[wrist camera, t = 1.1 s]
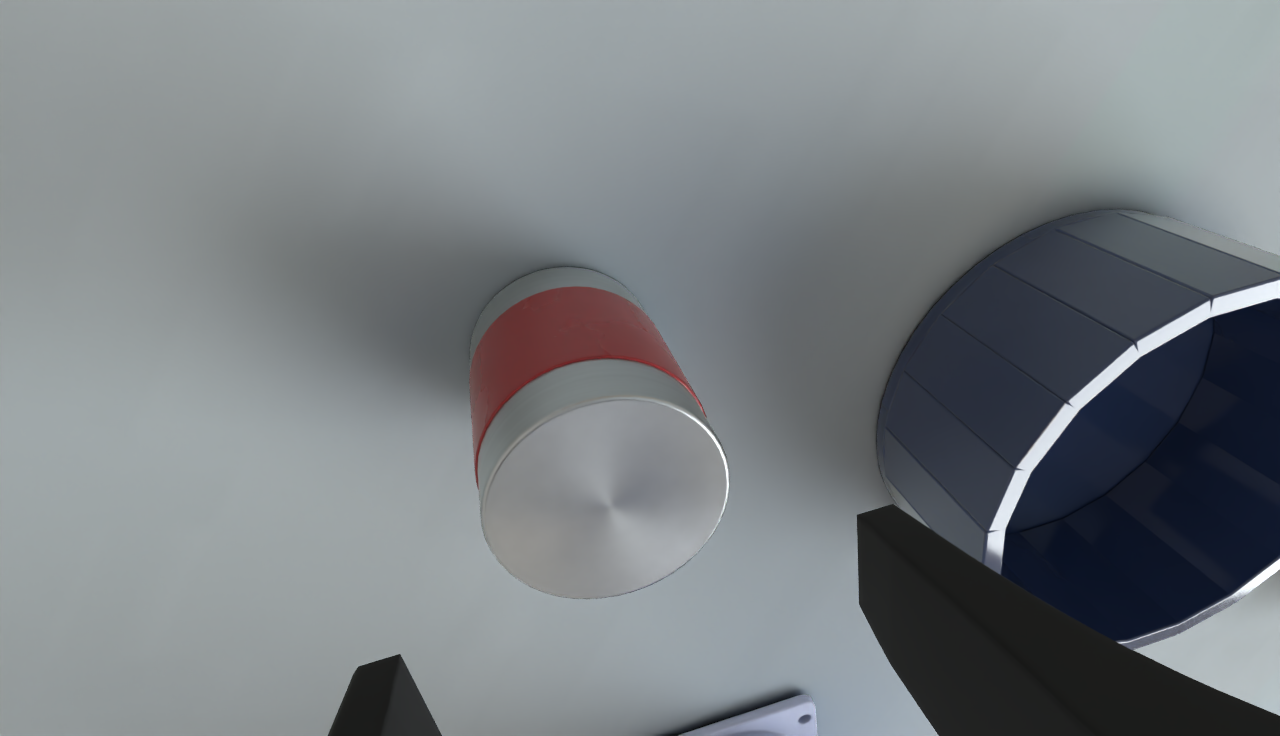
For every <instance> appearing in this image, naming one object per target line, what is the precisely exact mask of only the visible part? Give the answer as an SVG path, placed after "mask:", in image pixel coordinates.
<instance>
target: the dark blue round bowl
mask: <svg viewBox="0 0 1280 736" xmlns="http://www.w3.org/2000/svg"><path fill="white" fill-rule="evenodd" d="M877 454H878V463H879V466H880V470H881V474H882V478H883V481H884V483H885V485H886V487H887V489H888V491H889V494H890V495H891V497H892V498H893V499H894V501H895V502H896V503H897V505H898V507H899V508H900V509H901V510H903V511H905V512H906V513H908V514H909V515H911V516H912V517H914V518H915V519H916V520H918V521H919V522H921V523H922V524H924V525H925V526H927V527H928V528H930V529H931V530H933V531H934V532H936V533H937V534H939V535H940V536H942V537H943V538H945V539H946V540H948V541H949V542H951V543H952V544H954V545H955V546H957V547H958V548H960V549H961V550H963V551H964V552H966V553H967V554H969V555H970V556H972V557H973V558H975V559H976V560H978V561H980V562H981V563H983V564H984V565H986V566H987V567H989V568H990V569H992V570H994V571H995V572H997V573H998V574H1000V575H1002V576H1003V577H1005V578H1007V579H1008V580H1010V581H1011V582H1013V583H1015V584H1016V585H1018V586H1019V587H1021V588H1023V589H1024V590H1026V591H1028V592H1029V593H1031V594H1032V595H1034V596H1036V597H1037V598H1039V599H1041V600H1042V601H1044V602H1046V603H1048V604H1049V605H1051V606H1053V607H1054V608H1056V609H1058V610H1059V611H1061V612H1063V613H1065V614H1067V615H1068V616H1070V617H1072V618H1074V619H1075V620H1077V621H1079V622H1081V623H1083V624H1084V625H1086V626H1088V627H1090V628H1091V629H1093V630H1095V631H1097V632H1099V633H1101V634H1103V635H1104V636H1106V637H1108V638H1110V639H1112V640H1114V641H1116V642H1118V643H1119V644H1121V645H1123V646H1125V647H1127V648H1129V649H1131V650H1134V649H1137V648H1140V647H1143V646H1146V645H1149V644H1152V643H1155V642H1158V641H1161V640H1164V639H1166V638H1169V637H1172V636H1175V635H1177V634H1180V633H1182V632H1183V631H1185V630H1187V629H1189V628H1191V627H1193V626H1194V625H1196V624H1198V623H1200V622H1202V621H1203V620H1205V619H1207V618H1209V617H1211V616H1213V615H1214V614H1216V613H1218V612H1220V611H1222V610H1224V609H1225V608H1227V607H1229V606H1231V605H1232V604H1233V603H1236V602H1237V601H1238V600H1240V599H1241V598H1242V597H1244V596H1245V595H1246V594H1248V593H1249V592H1250V591H1252V590H1253V589H1254V588H1256V587H1257V586H1258V585H1260V584H1261V583H1262V582H1263V581H1265V580H1266V579H1267V578H1269V577H1270V576H1271V575H1273V574H1274V573H1275V572H1277V571H1278V570H1279V569H1280V256H1279V255H1276V254H1273V253H1270V252H1267V251H1264V250H1261V249H1259V248H1256V247H1253V246H1250V245H1247V244H1244V243H1241V242H1239V241H1236V240H1233V239H1230V238H1227V237H1224V236H1221V235H1219V234H1216V233H1213V232H1210V231H1207V230H1204V229H1202V228H1199V227H1196V226H1193V225H1190V224H1187V223H1184V222H1182V221H1179V220H1176V219H1173V218H1170V217H1164V216H1156V215H1153V214H1149V213H1146V212H1142V211H1134V210H1125V209H1112V210H1096V211H1090V212H1085V213H1080V214H1075V215H1071V216H1068V217H1065V218H1062V219H1059V220H1055V221H1052V222H1049V223H1046V224H1044V225H1042V226H1040V227H1038V228H1036V229H1033V230H1031V231H1029V232H1027V233H1025V234H1023V235H1021V236H1019V237H1017V238H1016V239H1014V240H1012V241H1011V242H1009V243H1007V244H1006V245H1004V246H1002V247H1001V248H999V249H997V250H996V251H994V252H993V253H992V254H990V255H989V256H988V257H986V258H985V259H984V260H982V261H981V262H980V263H978V264H977V265H975V266H974V267H973V268H972V269H971V270H970V271H968V272H967V273H966V274H965V275H964V276H963V277H962V278H961V279H960V280H958V281H957V282H956V283H955V284H954V285H953V286H952V287H951V288H950V289H949V290H948V291H947V292H946V293H945V294H944V295H943V297H942V298H941V299H940V300H939V301H938V302H937V303H936V304H935V305H934V306H933V307H932V309H931V310H930V311H929V313H928V314H927V315H926V317H925V318H924V319H923V321H922V322H921V323H920V325H919V326H918V327H917V329H916V330H915V331H914V333H913V335H912V336H911V338H910V340H909V341H908V343H907V345H906V346H905V348H904V349H903V351H902V353H901V355H900V357H899V359H898V361H897V363H896V365H895V367H894V369H893V372H892V374H891V376H890V378H889V381H888V384H887V387H886V390H885V393H884V396H883V399H882V404H881V408H880V413H879V418H878V427H877Z"/></svg>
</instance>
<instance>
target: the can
mask: <svg viewBox="0 0 1280 736" xmlns="http://www.w3.org/2000/svg"><path fill="white" fill-rule="evenodd" d="M469 387H470V403H471V418H472V434H473V449H474V465H475V476H476V483H477V487H478V490H479V500H480V514H481V524H482V529H483V533H484V536H485V539H486V542H487V544H488V546H489V548H490V550H491V552H492V553H493V555H494V556H495V557H496V559H497V560H498V562H499V563H500V564H501V565H502V566H503V567H504V568H505V569H506V570H507V571H508V572H509V573H510V574H511V575H513V576H514V577H515V578H517V579H518V580H519V581H521V582H523V583H524V584H526V585H528V586H530V587H532V588H534V589H537V590H539V591H542V592H544V593H548V594H551V595H555V596H559V597H566V598H573V599H598V598H607V597H613V596H619V595H623V594H627V593H631V592H634V591H637V590H639V589H642V588H645V587H647V586H650V585H652V584H654V583H656V582H658V581H660V580H662V579H664V578H665V577H667V576H669V575H670V574H672V573H674V572H675V571H676V570H678V569H679V568H681V567H682V566H683V565H685V564H686V563H687V562H688V561H689V560H690V559H692V558H693V557H694V556H695V555H696V554H697V553H698V552H699V551H700V550H701V548H702V547H703V546H704V545H705V544H706V543H707V541H708V540H709V539H710V537H711V536H712V534H713V533H714V531H715V529H716V528H717V526H718V524H719V522H720V520H721V518H722V515H723V513H724V510H725V507H726V503H727V499H728V494H729V484H730V476H729V466H728V461H727V457H726V454H725V451H724V449H723V447H722V444H721V442H720V441H719V439H718V437H717V435H716V434H715V432H714V430H713V429H712V427H711V425H710V423H709V422H708V420H707V417H706V414H705V412H704V410H703V407H702V405H701V403H700V401H699V400H698V398H697V396H696V395H695V393H694V391H693V389H692V388H691V386H690V384H689V383H688V381H687V379H686V377H685V376H684V374H683V372H682V371H681V369H680V367H679V366H678V364H677V362H676V360H675V359H674V357H673V355H672V354H671V352H670V350H669V348H668V347H667V345H666V343H665V342H664V340H663V338H662V336H661V335H660V333H659V331H658V330H657V328H656V327H655V325H654V323H653V322H652V321H651V320H650V318H649V317H648V316H647V315H646V313H645V311H644V310H643V308H642V306H641V305H640V303H639V301H638V300H637V299H636V298H635V297H634V295H633V294H632V293H631V292H630V291H629V290H628V289H627V288H625V287H624V286H623V285H622V284H620V283H619V282H617V281H616V280H614V279H612V278H610V277H608V276H606V275H604V274H602V273H599V272H596V271H593V270H589V269H583V268H576V267H558V268H550V269H545V270H540V271H537V272H534V273H531V274H528V275H526V276H524V277H522V278H520V279H518V280H516V281H514V282H513V283H511V284H509V285H508V286H506V287H505V288H504V289H503V290H501V291H500V292H499V293H498V294H497V295H496V296H495V297H494V298H493V299H492V300H491V301H490V302H489V303H488V305H487V306H486V307H485V309H484V310H483V312H482V313H481V315H480V317H479V319H478V321H477V323H476V325H475V328H474V331H473V333H472V338H471V343H470V378H469Z"/></svg>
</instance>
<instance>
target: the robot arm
mask: <svg viewBox="0 0 1280 736" xmlns="http://www.w3.org/2000/svg"><path fill="white" fill-rule="evenodd" d="M857 535H858V576H859V605H860V607H861V609H862V611H863V613H864V615H865V617H866V619H867V621H868V623H869V625H870V626H871V628H872V630H873V632H874V634H875V636H876V638H877V640H878V642H879V644H880V646H881V647H882V649H883V651H884V653H885V655H886V657H887V658H888V660H889V662H890V664H891V665H892V667H893V669H894V670H895V672H896V673H897V675H898V676H899V678H900V679H901V681H902V682H903V684H904V685H905V686H906V688H907V689H908V691H909V692H910V694H911V695H912V697H913V698H914V700H915V701H916V703H917V704H918V706H919V707H920V709H921V710H922V712H923V713H924V715H925V716H926V718H927V719H928V720H929V722H930V723H931V725H932V726H933V728H934V729H935V731H936V732H937V734H938V735H939V736H1280V716H1278V715H1276V714H1274V713H1271V712H1269V711H1266V710H1264V709H1262V708H1259V707H1257V706H1254V705H1252V704H1250V703H1247V702H1245V701H1242V700H1240V699H1238V698H1235V697H1233V696H1230V695H1228V694H1226V693H1223V692H1221V691H1218V690H1216V689H1214V688H1212V687H1209V686H1207V685H1205V684H1203V683H1200V682H1198V681H1196V680H1194V679H1192V678H1189V677H1187V676H1185V675H1183V674H1181V673H1179V672H1177V671H1174V670H1172V669H1170V668H1168V667H1166V666H1164V665H1162V664H1160V663H1158V662H1156V661H1154V660H1152V659H1150V658H1148V657H1146V656H1144V655H1142V654H1140V653H1137V652H1135V651H1133V650H1131V649H1129V648H1127V647H1125V646H1123V645H1121V644H1119V643H1118V642H1116V641H1114V640H1112V639H1110V638H1108V637H1106V636H1104V635H1103V634H1101V633H1099V632H1097V631H1095V630H1093V629H1091V628H1090V627H1088V626H1086V625H1084V624H1083V623H1081V622H1079V621H1077V620H1075V619H1074V618H1072V617H1070V616H1068V615H1067V614H1065V613H1063V612H1061V611H1059V610H1058V609H1056V608H1054V607H1053V606H1051V605H1049V604H1048V603H1046V602H1044V601H1042V600H1041V599H1039V598H1037V597H1036V596H1034V595H1032V594H1031V593H1029V592H1028V591H1026V590H1024V589H1023V588H1021V587H1019V586H1018V585H1016V584H1015V583H1013V582H1011V581H1010V580H1008V579H1007V578H1005V577H1003V576H1002V575H1000V574H998V573H997V572H995V571H994V570H992V569H990V568H989V567H987V566H986V565H984V564H983V563H981V562H980V561H978V560H976V559H975V558H973V557H972V556H970V555H969V554H967V553H966V552H964V551H963V550H961V549H960V548H958V547H957V546H955V545H954V544H952V543H951V542H949V541H948V540H946V539H945V538H943V537H942V536H940V535H939V534H937V533H936V532H934V531H933V530H931V529H930V528H928V527H927V526H925V525H924V524H922V523H921V522H919V521H918V520H916V519H915V518H914V517H912V516H911V515H909V514H908V513H906V512H905V511H903V510H901V509H900V508H898V507H897V506H895V505H894V504H891V505H888V506H885V507H882V508H878V509H875V510H872V511H868V512H865V513H862V514H859V515H857ZM328 736H442V735H441V733H440V731H439V729H438V727H437V725H436V723H435V721H434V719H433V717H432V715H431V713H430V711H429V709H428V708H427V706H426V704H425V702H424V700H423V698H422V696H421V694H420V692H419V690H418V688H417V686H416V684H415V682H414V680H413V678H412V676H411V674H410V672H409V670H408V668H407V667H406V665H405V663H404V661H403V659H402V657H401V655H400V654H398V655H395V656H392V657H388V658H385V659H382V660H379V661H375V662H372V663H369V664H365V665H362V666H359V667H358V668H357V670H356V671H355V673H354V674H353V676H352V679H351V681H350V684H349V686H348V689H347V691H346V693H345V696H344V698H343V701H342V703H341V705H340V708H339V710H338V713H337V715H336V717H335V720H334V722H333V725H332V727H331V729H330V732H329V734H328ZM677 736H818V734H817V721H816V708H815V704H814V702H813V700H812V698H811V697H810V696H809V695H798V696H795V697H792V698H789V699H786V700H783V701H780V702H777V703H774V704H771V705H768V706H765V707H762V708H759V709H756V710H753V711H750V712H747V713H744V714H741V715H738V716H735V717H732V718H729V719H726V720H723V721H720V722H717V723H714V724H711V725H708V726H705V727H702V728H699V729H695V730H692V731H689V732H686V733H683V734H680V735H677Z"/></svg>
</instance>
